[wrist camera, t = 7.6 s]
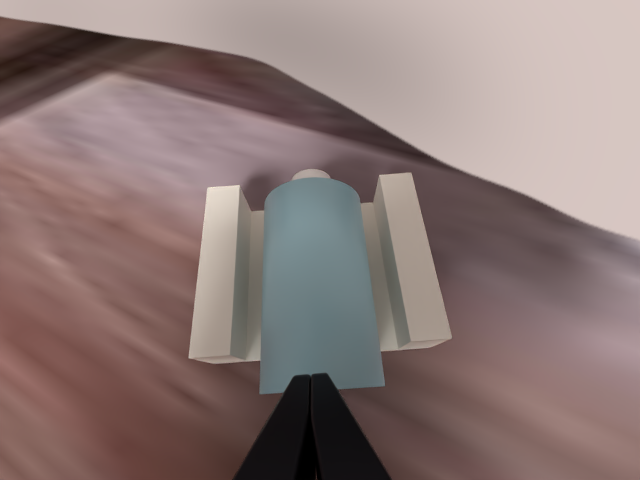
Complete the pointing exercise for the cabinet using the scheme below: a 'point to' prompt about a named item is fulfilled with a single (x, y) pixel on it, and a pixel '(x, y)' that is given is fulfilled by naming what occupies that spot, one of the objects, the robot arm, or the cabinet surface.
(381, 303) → the u rest
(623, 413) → the cabinet surface
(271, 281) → the bottle
